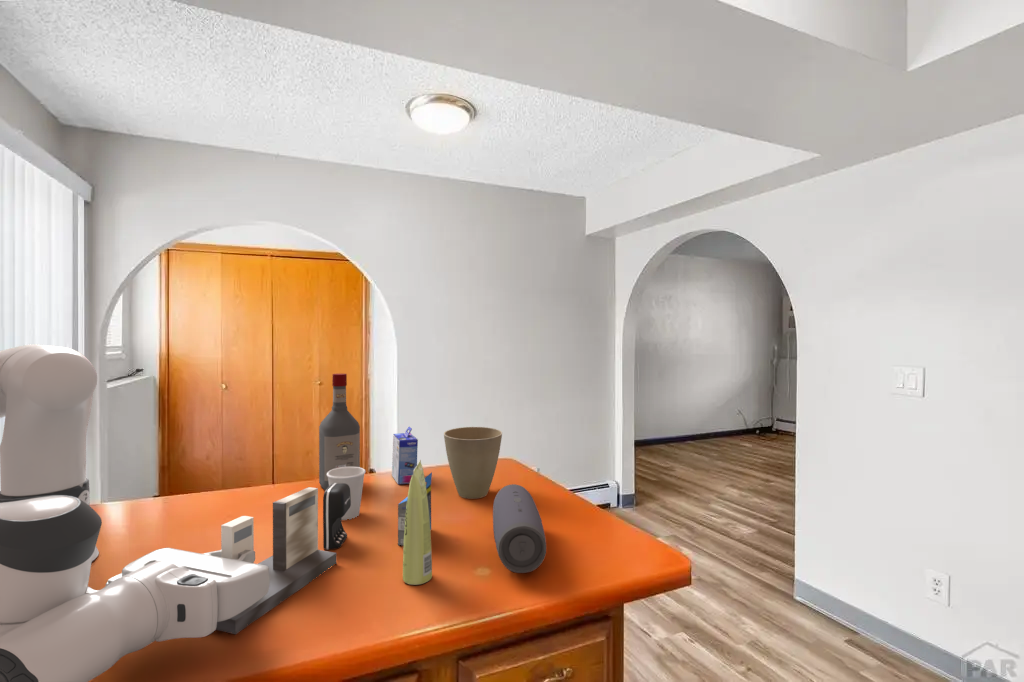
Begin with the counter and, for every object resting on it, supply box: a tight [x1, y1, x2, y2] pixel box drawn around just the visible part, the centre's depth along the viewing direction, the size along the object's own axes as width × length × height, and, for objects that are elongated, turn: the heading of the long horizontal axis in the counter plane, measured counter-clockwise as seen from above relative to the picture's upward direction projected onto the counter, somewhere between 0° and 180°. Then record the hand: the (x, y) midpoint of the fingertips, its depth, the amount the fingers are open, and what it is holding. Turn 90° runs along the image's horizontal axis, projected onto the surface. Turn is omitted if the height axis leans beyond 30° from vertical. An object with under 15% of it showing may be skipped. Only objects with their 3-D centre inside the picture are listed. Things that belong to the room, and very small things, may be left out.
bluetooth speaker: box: [492, 483, 547, 574], centre depth 97 cm, size 23×9×10 cm, turn 4°
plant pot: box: [443, 426, 503, 500], centre depth 129 cm, size 15×15×16 cm
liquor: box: [318, 373, 361, 491], centre depth 134 cm, size 9×9×30 cm
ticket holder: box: [215, 486, 337, 635], centre depth 82 cm, size 22×10×13 cm, turn 162°
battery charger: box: [322, 483, 351, 551], centre depth 99 cm, size 7×4×11 cm, turn 3°
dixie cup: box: [327, 467, 366, 521], centre depth 114 cm, size 8×8×10 cm
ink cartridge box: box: [391, 426, 419, 485], centre depth 141 cm, size 10×6×14 cm, turn 24°
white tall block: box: [220, 515, 255, 563], centre depth 76 cm, size 4×2×11 cm, turn 162°
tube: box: [402, 459, 433, 586], centre depth 86 cm, size 6×5×20 cm
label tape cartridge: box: [397, 471, 433, 547], centre depth 102 cm, size 9×4×12 cm, turn 168°
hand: (242, 553), depth 77 cm, fingers closed on white tall block, 2 cm apart
